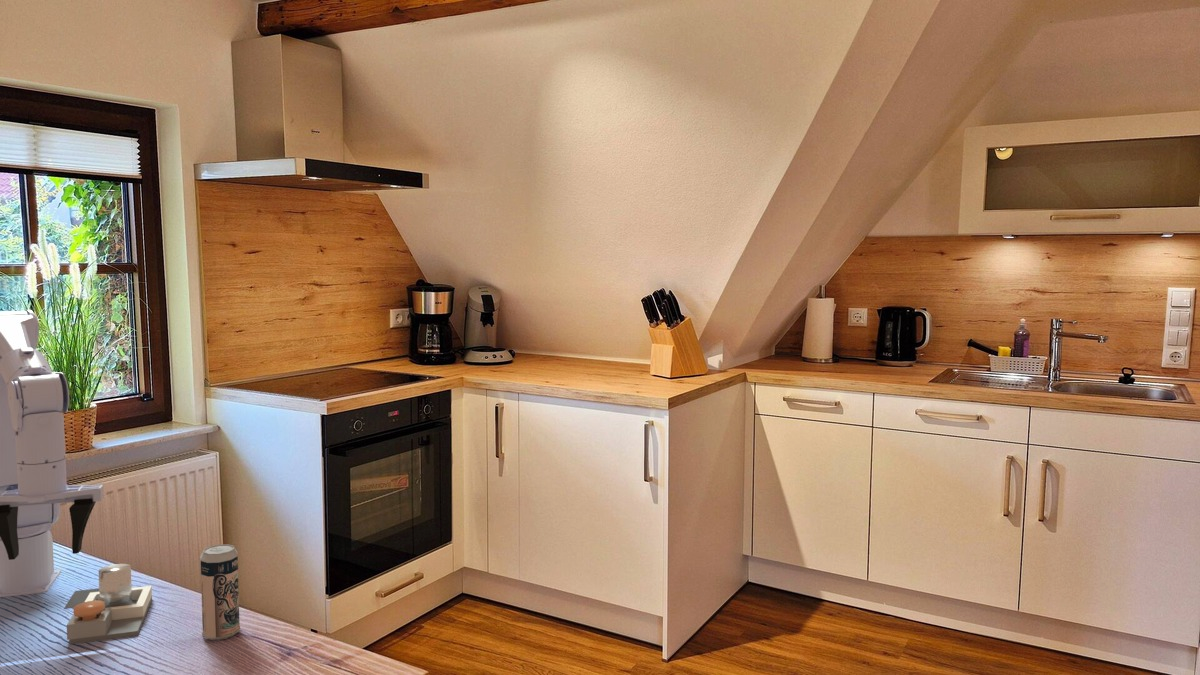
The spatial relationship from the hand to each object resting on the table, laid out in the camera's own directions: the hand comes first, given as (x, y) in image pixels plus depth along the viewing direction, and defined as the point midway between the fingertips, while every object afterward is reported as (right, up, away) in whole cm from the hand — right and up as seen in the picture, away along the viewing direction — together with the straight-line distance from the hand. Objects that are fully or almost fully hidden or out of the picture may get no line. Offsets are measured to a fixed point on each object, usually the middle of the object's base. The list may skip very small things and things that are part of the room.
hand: (45, 554), depth 118 cm
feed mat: (+3, -9, +8) cm, 12 cm away
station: (+10, -10, -1) cm, 14 cm away
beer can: (+27, -10, -4) cm, 29 cm away
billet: (+9, -8, +2) cm, 12 cm away
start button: (+10, -9, -6) cm, 14 cm away
